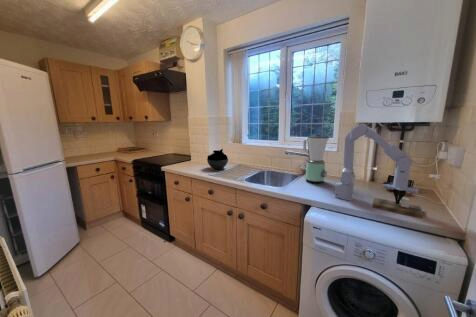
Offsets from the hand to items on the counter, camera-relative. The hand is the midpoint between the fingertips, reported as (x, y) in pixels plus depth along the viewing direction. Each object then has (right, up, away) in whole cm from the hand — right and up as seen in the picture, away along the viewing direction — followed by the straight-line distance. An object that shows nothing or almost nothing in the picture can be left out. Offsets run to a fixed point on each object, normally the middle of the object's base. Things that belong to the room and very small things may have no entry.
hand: (397, 203), depth 104 cm
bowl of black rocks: (-103, +13, +87) cm, 135 cm away
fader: (+2, -1, -2) cm, 3 cm away
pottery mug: (+18, +2, +25) cm, 31 cm away
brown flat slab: (0, -3, +1) cm, 3 cm away
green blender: (-26, +6, +48) cm, 55 cm away
